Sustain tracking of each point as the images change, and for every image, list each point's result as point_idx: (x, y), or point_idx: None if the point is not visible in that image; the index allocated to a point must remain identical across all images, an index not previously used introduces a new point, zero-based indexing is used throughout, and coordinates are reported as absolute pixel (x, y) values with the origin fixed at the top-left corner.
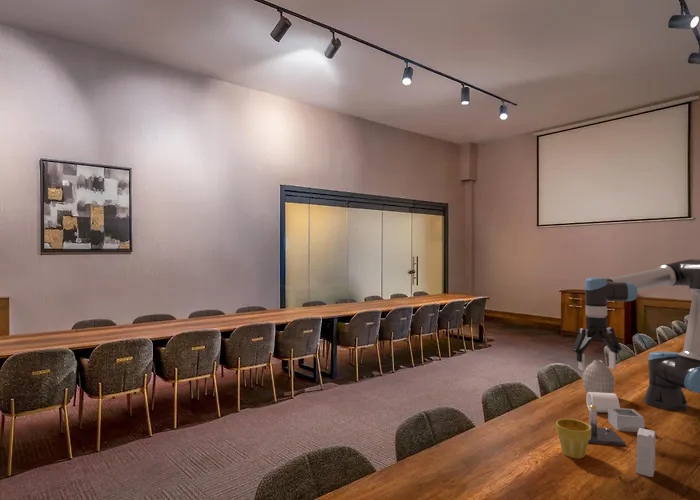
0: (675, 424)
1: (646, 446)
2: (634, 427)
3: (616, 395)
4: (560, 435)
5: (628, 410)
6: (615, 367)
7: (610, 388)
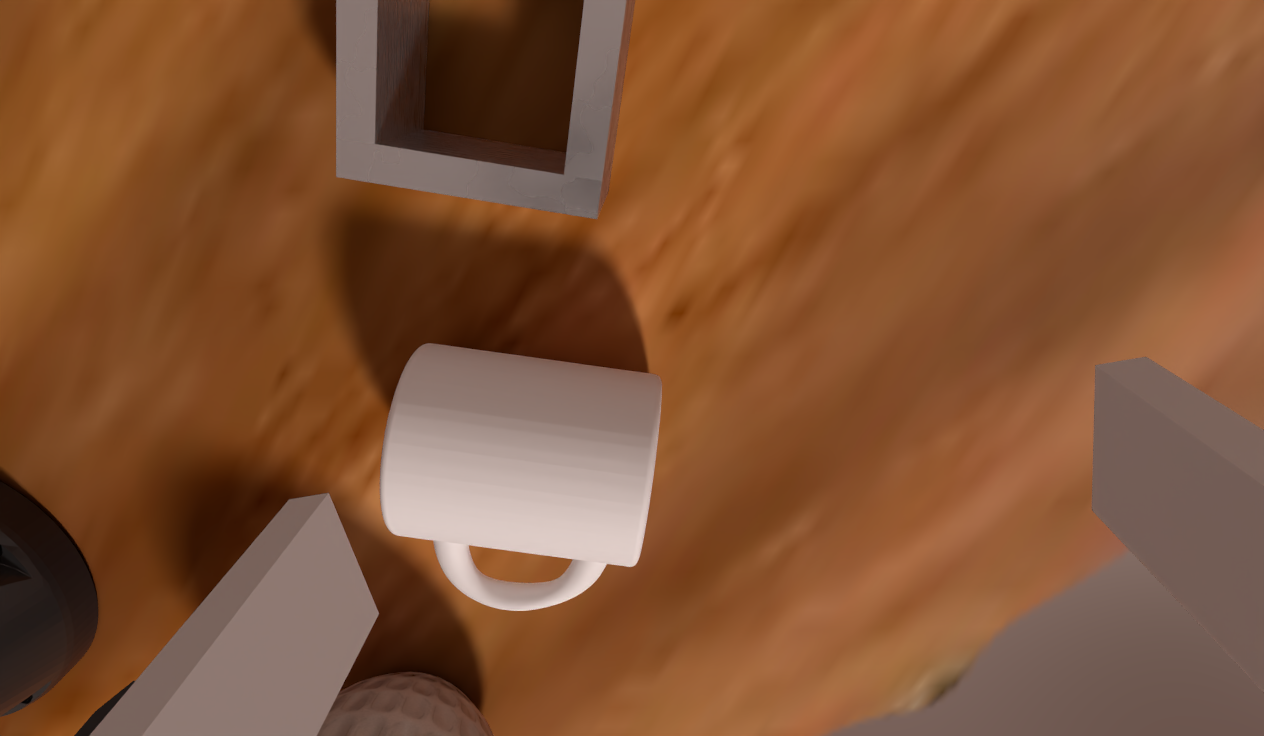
0: (24, 148)
1: None
2: None
3: (383, 455)
4: None
5: (404, 147)
6: (275, 518)
7: None
